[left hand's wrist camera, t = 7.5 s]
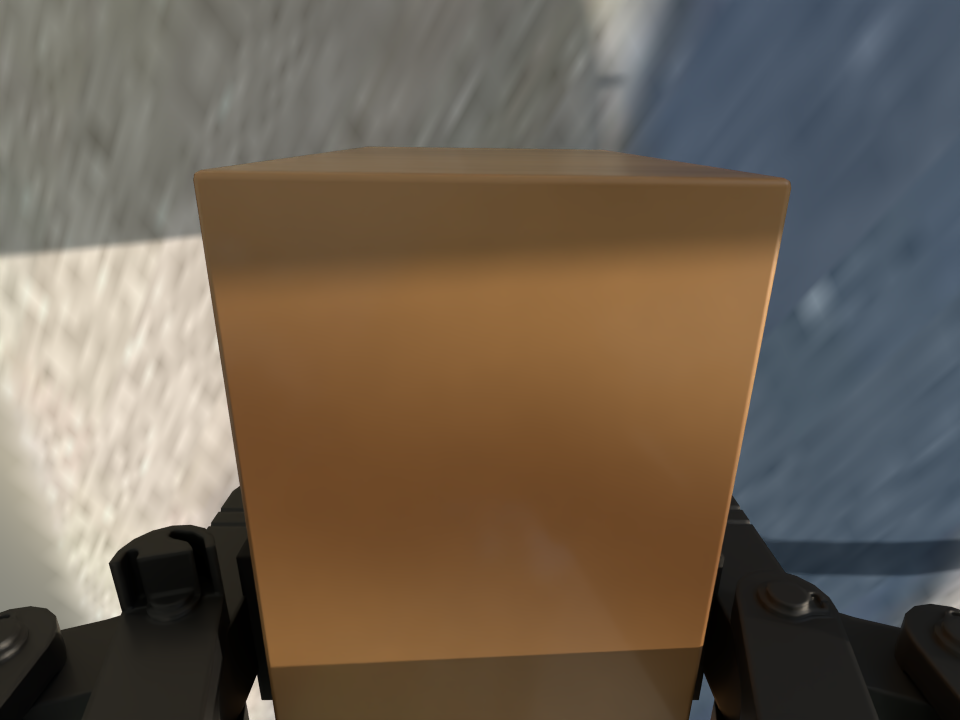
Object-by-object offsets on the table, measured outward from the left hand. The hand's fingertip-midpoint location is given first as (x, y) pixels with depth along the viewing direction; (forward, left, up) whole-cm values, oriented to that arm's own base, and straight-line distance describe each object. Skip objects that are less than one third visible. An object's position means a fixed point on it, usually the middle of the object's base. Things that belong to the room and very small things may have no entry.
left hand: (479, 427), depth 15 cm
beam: (+23, +17, 0) cm, 29 cm away
